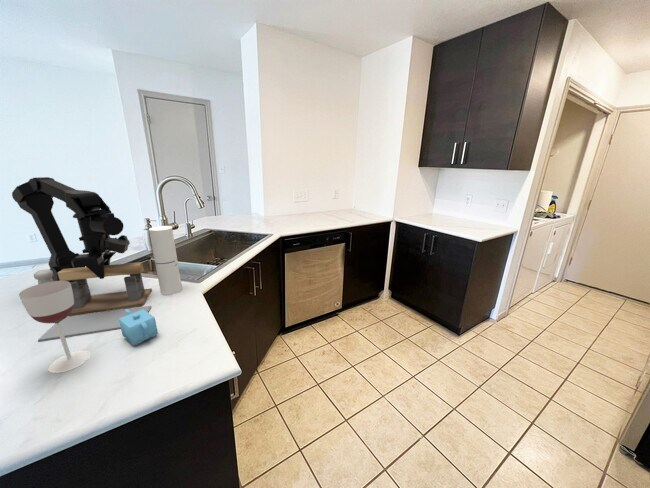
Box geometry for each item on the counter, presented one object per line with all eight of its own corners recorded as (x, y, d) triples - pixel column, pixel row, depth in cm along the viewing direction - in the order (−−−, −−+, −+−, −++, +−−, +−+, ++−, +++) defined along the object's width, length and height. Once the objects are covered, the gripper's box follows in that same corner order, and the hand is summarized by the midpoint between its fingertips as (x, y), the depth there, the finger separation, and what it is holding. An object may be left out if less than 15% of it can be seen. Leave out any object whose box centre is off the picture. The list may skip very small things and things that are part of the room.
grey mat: (62, 319, 79) (61, 317, 79) (151, 307, 87) (151, 305, 87) (38, 341, 70) (37, 339, 69) (141, 325, 77) (141, 323, 77)
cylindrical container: (156, 292, 97) (144, 229, 90) (173, 284, 103) (163, 225, 96) (169, 296, 95) (158, 231, 87) (186, 288, 101) (176, 227, 93)
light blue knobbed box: (118, 333, 74) (112, 311, 71) (142, 323, 78) (137, 302, 76) (136, 350, 67) (130, 326, 65) (161, 338, 72) (156, 315, 70)
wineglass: (53, 379, 58) (24, 301, 52) (42, 363, 62) (14, 290, 56) (97, 358, 64) (76, 287, 58) (84, 345, 69) (63, 277, 63)
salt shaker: (50, 311, 83) (37, 275, 79) (36, 309, 84) (23, 273, 80) (70, 302, 89) (59, 268, 85) (57, 300, 90) (46, 266, 86)
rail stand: (80, 299, 91) (73, 273, 88) (152, 290, 98) (147, 266, 95) (60, 317, 80) (51, 289, 77) (142, 306, 88) (136, 279, 85)
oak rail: (65, 277, 84) (63, 269, 83) (143, 269, 91) (141, 262, 90) (60, 281, 81) (57, 272, 80) (140, 273, 89) (139, 265, 88)
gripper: (111, 238, 76) (122, 285, 81) (132, 224, 93) (141, 264, 97) (63, 240, 72) (78, 290, 77) (95, 226, 89) (105, 267, 94)
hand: (104, 276), depth 86 cm, fingers closed on oak rail, 3 cm apart
